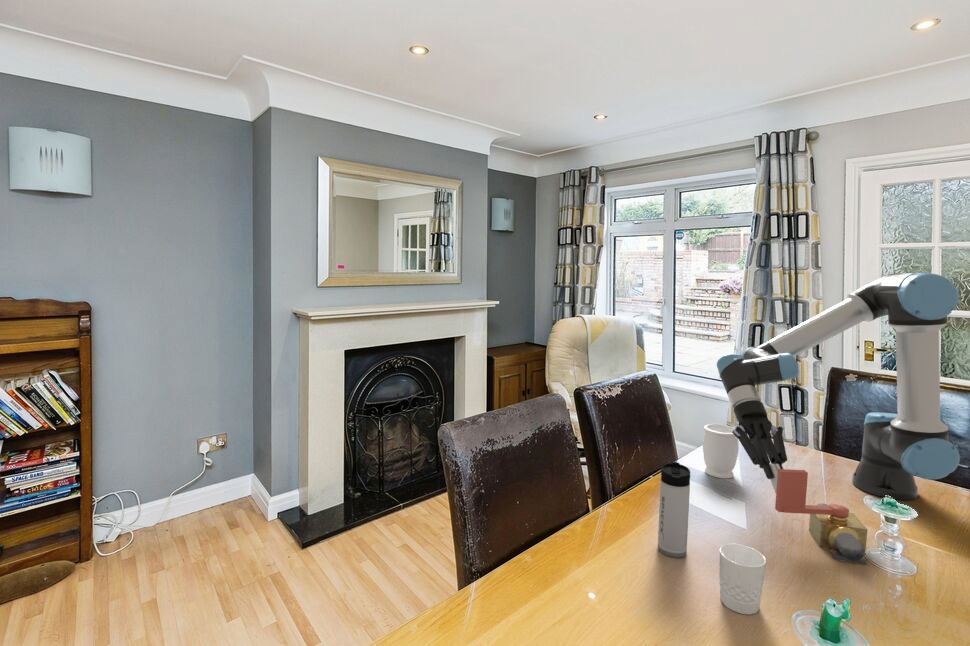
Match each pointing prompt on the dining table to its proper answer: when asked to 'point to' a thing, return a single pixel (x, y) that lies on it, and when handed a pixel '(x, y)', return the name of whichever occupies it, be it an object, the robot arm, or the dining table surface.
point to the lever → (800, 495)
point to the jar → (720, 450)
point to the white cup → (741, 578)
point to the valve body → (840, 536)
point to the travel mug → (674, 510)
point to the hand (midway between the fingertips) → (782, 491)
